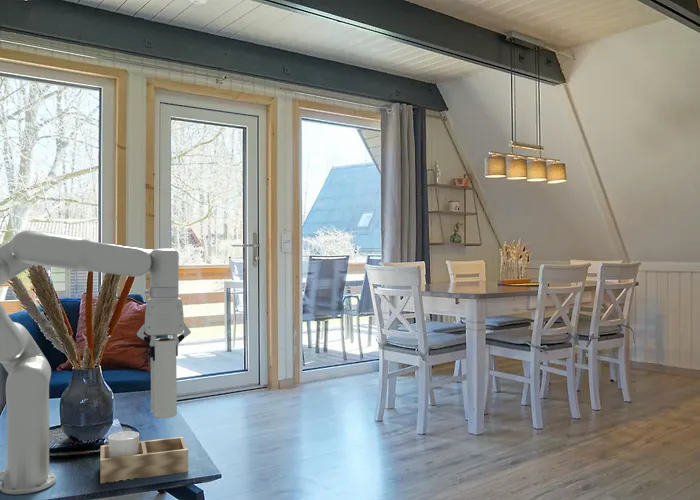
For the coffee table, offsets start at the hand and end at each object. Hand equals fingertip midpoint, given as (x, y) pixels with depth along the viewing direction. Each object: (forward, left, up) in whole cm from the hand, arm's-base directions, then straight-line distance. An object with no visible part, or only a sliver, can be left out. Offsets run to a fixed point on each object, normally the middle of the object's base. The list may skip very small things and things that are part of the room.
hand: (164, 358), depth 167 cm
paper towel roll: (0, 0, -16) cm, 16 cm away
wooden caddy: (-5, 0, -30) cm, 30 cm away
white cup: (-10, 0, -30) cm, 32 cm away
